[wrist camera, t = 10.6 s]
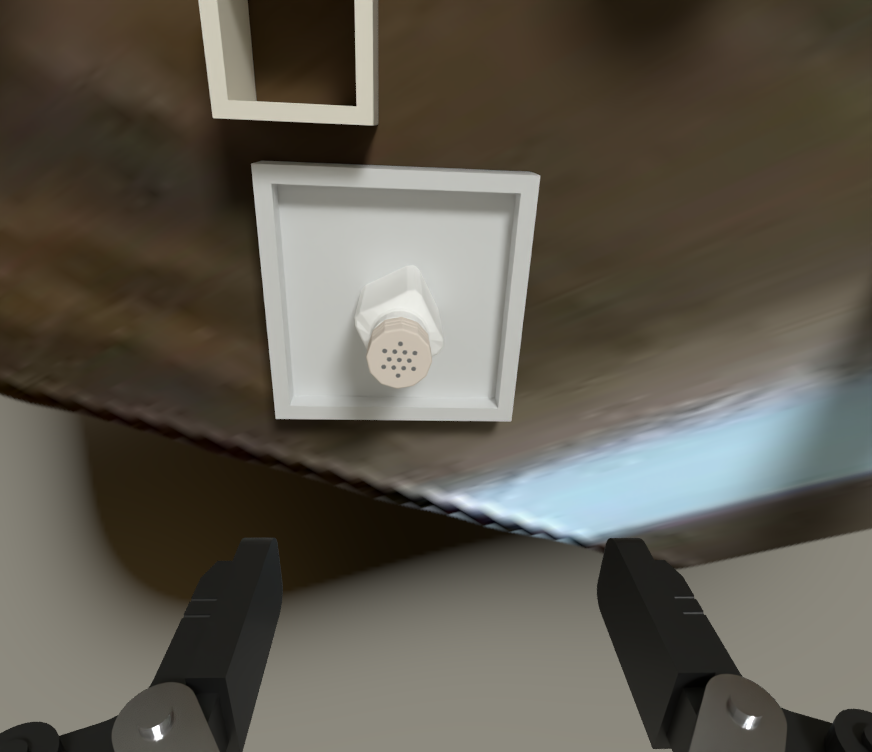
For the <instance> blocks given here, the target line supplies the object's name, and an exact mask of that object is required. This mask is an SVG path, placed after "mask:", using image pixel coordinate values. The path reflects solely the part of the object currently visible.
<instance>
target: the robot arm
mask: <svg viewBox="0 0 872 752" xmlns="http://www.w3.org/2000/svg"><path fill="white" fill-rule="evenodd" d="M282 591H283V586H282V577H281V569H280V561H279V552H278V544H277V540H276V539H275V538H243V539H242V540H241V542H240V544H239V547H238V549H237V552H236V554H235V556H234V559H233V561H217V562H216V563H215V565H213V566H212V567H211V568H210V569H209V571H207V572H206V573H205V574H204V575H203V576H202V577H201V579H200V581H199V583H198V585H197V587H196V590H195V592H194V594H193V596H192V600H191V602H189V604H188V607H187V609H186V611H185V613H184V618H182V620H181V622H180V624H179V626H178V628H177V630H176V632H175V635H174V637H173V639H172V641H171V643H170V646H169V647H168V650H167V652H166V654H165V656H164V658H163V660H162V663H161V665H160V667H159V669H158V671H157V673H156V676H155V678H154V680H153V682H152V683H151V685H150V687H149V688H148V689H146V690H144V691H142V692H141V693H139V694H138V695H137V696H135V697H134V698H133V699H131V700H130V701H129V702H128V703H127V704H126V706H125V707H124V708H123V709H122V710H121V712H120V713H119V715H118V716H115V717H114V718H112V719H109V720H107V721H104V722H101V723H99V724H96V725H92V726H89V727H86V728H83V729H80V730H76V731H73V732H70V733H67V734H64V735H61V736H59V735H58V734H57V732H56V730H55V729H54V728H53V727H52V726H51V725H49V724H47V723H43V722H30V723H24V724H21V725H17V726H15V727H12V728H10V729H8V730H6V731H4V732H2V733H0V752H242V751H243V748H244V744H245V740H246V736H247V733H248V729H249V725H250V722H251V718H252V714H253V711H254V707H255V703H256V699H257V696H258V692H259V688H260V685H261V681H262V677H263V674H264V670H265V666H266V663H267V659H268V655H269V651H270V648H271V644H272V640H273V637H274V633H275V629H276V625H277V622H278V618H279V615H280V610H281V604H282V594H283V593H282ZM597 597H598V598H597V599H598V604H599V609H600V612H601V614H602V617H603V619H604V622H605V625H606V627H607V630H608V632H609V635H610V638H611V640H612V643H613V646H614V648H615V651H616V654H617V656H618V659H619V662H620V664H621V667H622V669H623V672H624V674H625V677H626V680H627V682H628V685H629V688H630V690H631V693H632V696H633V698H634V701H635V703H636V706H637V709H638V711H639V714H640V716H641V719H642V721H643V724H644V727H645V729H646V732H647V735H648V737H649V740H650V743H651V745H652V748H653V749H668V748H669V749H672V751H673V752H872V713H871V712H868V711H864V710H860V709H847V710H843V711H842V712H840V713H839V714H838V715H837V716H836V718H835V720H834V722H833V723H830V722H826V721H823V720H818V719H815V718H812V717H809V716H805V715H802V714H798V713H794V712H791V711H788V710H786V709H783V708H781V707H780V706H779V704H778V703H777V702H776V701H775V699H774V698H773V697H772V696H771V695H770V694H769V693H768V692H767V691H766V690H765V689H763V688H762V687H761V686H759V685H758V684H756V683H754V682H753V681H751V680H749V679H746V678H744V677H742V675H741V674H740V672H739V671H738V669H737V667H736V666H735V664H734V662H733V660H732V659H731V657H730V655H729V654H728V652H727V650H726V649H725V647H724V645H723V644H722V642H721V640H720V638H719V637H718V635H717V633H716V632H715V630H714V628H713V627H712V625H711V623H710V622H709V620H708V618H707V617H706V615H704V614H703V610H702V608H701V606H700V605H699V603H698V601H697V600H696V599H694V595H693V593H692V591H691V590H690V588H689V586H688V584H687V583H686V581H685V579H684V578H683V576H682V575H681V574H679V573H678V572H677V571H676V570H675V569H674V568H673V567H672V566H671V565H669V564H668V563H667V562H666V561H665V560H654V559H653V557H652V555H651V553H650V551H649V550H648V548H647V546H646V544H645V543H644V541H643V540H642V539H640V538H609V539H608V540H607V542H606V546H605V551H604V555H603V560H602V565H601V570H600V574H599V579H598V584H597Z"/></svg>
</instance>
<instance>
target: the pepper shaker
mask: <svg viewBox="0 0 872 752" xmlns="http://www.w3.org/2000/svg"><path fill="white" fill-rule="evenodd" d="M354 318H355V327H356V329H357V331H358V333H359V335H360V337H361V339H362V341H363V343H364V345H365V347H366V349H367V354H366V359H367V363H368V367H369V372H370V373H371V374H372V375H373V376H374V377H375V378H376V379H377V380H378V381H379V382H380V383H381V384H383V385H386V386H389V387H393V388H396V389H399V388H405V387H411V386H414V385H415V384H417V383H418V382H419V381H421V380H422V379H423V378H425V377H426V376H427V373H428V371H429V368H430V366H431V363H432V357H433V356H435V355H437V354H438V353H439V352H440V351H441V350H442V348H443V347H444V338H443V333H442V327H441V321H440V316H439V310H438V307H437V305H436V303H435V301H434V299H433V297H432V295H431V293H430V291H429V289H428V287H427V284H426V282H425V280H424V278H423V276H422V274H421V272H420V270H419V269H418V268H417V267H416V266H414V265H408V266H405V267H403V268H400V269H398V270H396V271H394V272H392V273H390V274H388V275H385V276H383V277H381V278H379V279H377V280H375V281H373V282H371V283H368V284H366V285H365V286H364V287H363V289H362V290H361V293H360V297H359V301H358V305H357V309H356V313H355V317H354Z"/></svg>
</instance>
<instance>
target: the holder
mask: <svg viewBox="0 0 872 752" xmlns="http://www.w3.org/2000/svg"><path fill="white" fill-rule="evenodd" d="M198 1H199V9H200V17H201V25H202V34H203V42H204V50H205V58H206V67H207V75H208V83H209V91H210V99H211V108H212V116H213V118H221V119H243V120H264V121H286V122H307V123H329V124H350V125H372V126H374V125H378V0H354V1H355V56H356V106H339V105H319V104H298V103H278V102H257V100H256V88H255V77H254V66H253V55H252V44H251V32H250V21H249V10H248V0H198Z"/></svg>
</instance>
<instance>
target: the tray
mask: <svg viewBox="0 0 872 752" xmlns="http://www.w3.org/2000/svg"><path fill="white" fill-rule="evenodd" d="M251 169H252V180H253V190H254V200H255V210H256V221H257V231H258V241H259V252H260V262H261V272H262V282H263V293H264V303H265V313H266V324H267V334H268V344H269V354H270V365H271V375H272V385H273V395H274V406H275V416H276V419H333V420H427V421H511V419H512V411H513V402H514V394H515V385H516V377H517V369H518V360H519V352H520V343H521V335H522V326H523V318H524V310H525V301H526V293H527V284H528V276H529V267H530V259H531V250H532V242H533V234H534V225H535V217H536V208H537V200H538V191H539V183H540V175H538V174H535V173H533V172H526V171H502V170H479V169H455V168H431V167H407V166H383V165H359V164H335V163H311V162H287V161H263V160H262V161H258V162H255V163H251ZM408 265H414V266H416V267H417V268H418V269H419V270H420V272H421V274H422V276H423V278H424V280H425V282H426V284H427V287H428V289H429V291H430V293H431V295H432V297H433V299H434V301H435V303H436V305H437V307H438V310H439V316H440V321H441V327H442V333H443V338H444V347H443V348H442V350H441V351H440V352H439V353H438V354H437V355H435V356H433V357H432V363H431V366H430V368H429V371H428V373H427V376H426V377H425V378H423V379H422V380H421V381H419V382H418V383H417V384H415V385H414V386H411V387H405V388H399V389H396V388H393V387H389V386H386V385H383V384H381V383H380V382H379V381H378V380H377V379H376V378H375V377H374V376H373V375H372V374H371V373H370V372H369V367H368V363H367V359H366V354H367V349H366V347H365V345H364V343H363V341H362V339H361V337H360V335H359V333H358V331H357V329H356V327H355V318H354V317H355V313H356V309H357V305H358V301H359V297H360V293H361V290H362V289H363V287H364V286H365V285H366V284H368V283H371V282H373V281H375V280H377V279H379V278H381V277H383V276H385V275H388V274H390V273H392V272H394V271H396V270H398V269H400V268H403V267H405V266H408Z"/></svg>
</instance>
